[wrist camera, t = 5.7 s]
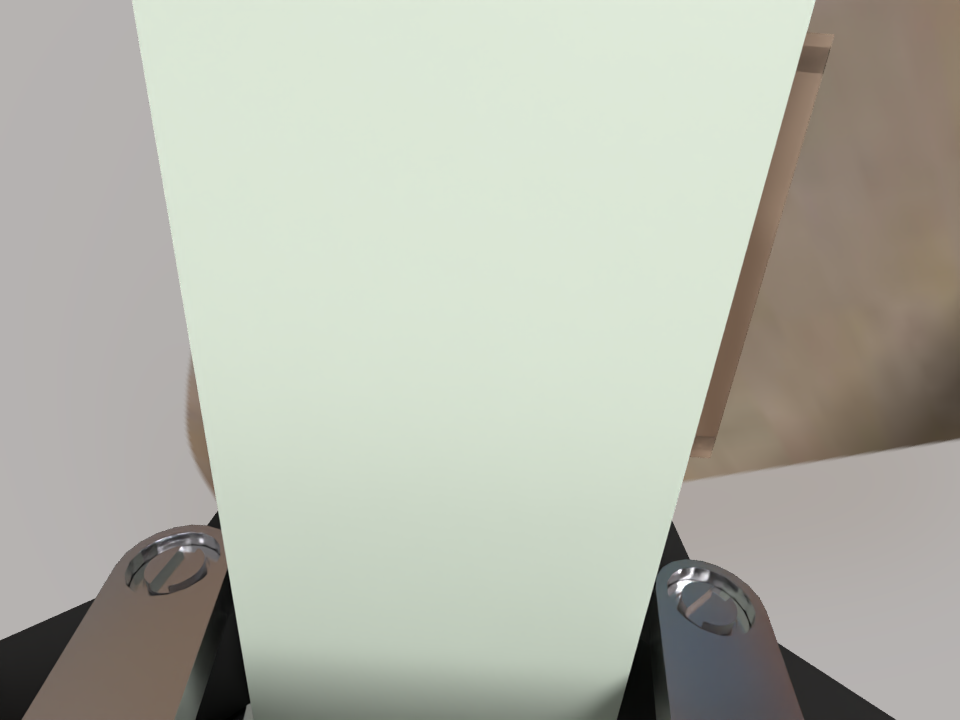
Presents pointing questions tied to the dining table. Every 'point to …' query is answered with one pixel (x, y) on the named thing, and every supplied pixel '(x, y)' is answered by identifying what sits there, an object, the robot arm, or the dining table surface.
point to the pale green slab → (456, 323)
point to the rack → (763, 234)
